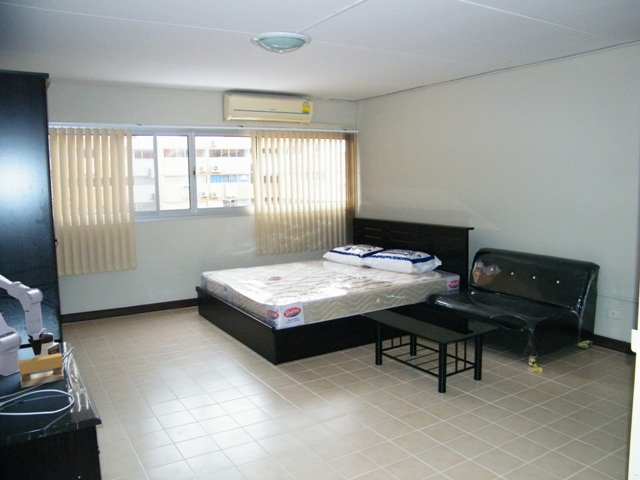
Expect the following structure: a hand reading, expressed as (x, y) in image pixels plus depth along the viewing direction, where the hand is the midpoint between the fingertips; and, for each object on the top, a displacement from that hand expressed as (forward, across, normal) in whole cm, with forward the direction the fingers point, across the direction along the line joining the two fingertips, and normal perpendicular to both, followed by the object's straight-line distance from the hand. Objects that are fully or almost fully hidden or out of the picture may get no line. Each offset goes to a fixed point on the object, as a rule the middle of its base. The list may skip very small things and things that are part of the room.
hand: (37, 352), depth 210 cm
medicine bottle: (+10, +17, -4) cm, 20 cm away
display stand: (+10, -6, -1) cm, 12 cm away
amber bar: (+5, -6, -1) cm, 8 cm away
